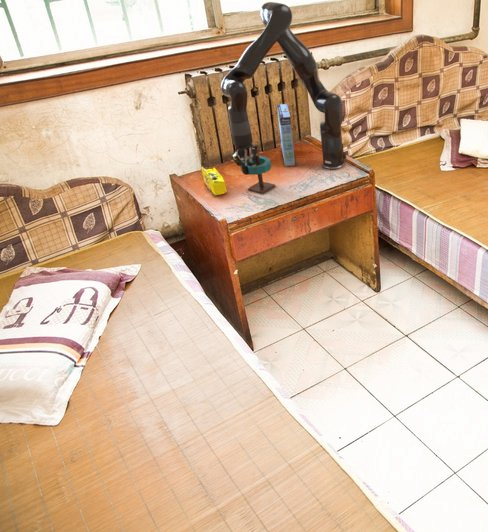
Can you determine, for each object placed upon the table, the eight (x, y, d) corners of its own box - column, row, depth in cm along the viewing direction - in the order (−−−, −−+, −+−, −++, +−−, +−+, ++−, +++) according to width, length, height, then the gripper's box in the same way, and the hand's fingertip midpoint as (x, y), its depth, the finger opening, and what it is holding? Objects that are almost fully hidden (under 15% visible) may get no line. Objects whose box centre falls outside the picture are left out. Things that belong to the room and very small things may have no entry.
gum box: (282, 151, 266) (276, 104, 253) (292, 150, 267) (287, 103, 254) (285, 166, 250) (278, 117, 237) (296, 165, 251) (290, 116, 238)
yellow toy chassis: (203, 184, 236) (199, 165, 231) (216, 180, 238) (212, 163, 234) (214, 197, 224) (210, 178, 220) (227, 194, 227) (224, 175, 222)
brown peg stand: (260, 183, 235) (255, 150, 227) (275, 186, 232) (270, 153, 224) (248, 190, 230) (242, 156, 221) (263, 194, 226) (257, 160, 218)
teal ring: (254, 161, 231) (253, 154, 230) (276, 165, 226) (275, 159, 225) (235, 171, 223) (234, 164, 221) (258, 176, 218) (257, 169, 216)
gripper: (236, 138, 205) (244, 181, 214) (260, 127, 215) (266, 168, 224) (221, 135, 208) (229, 177, 217) (245, 124, 218) (252, 165, 227)
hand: (248, 172), depth 221 cm, fingers closed on teal ring, 2 cm apart
